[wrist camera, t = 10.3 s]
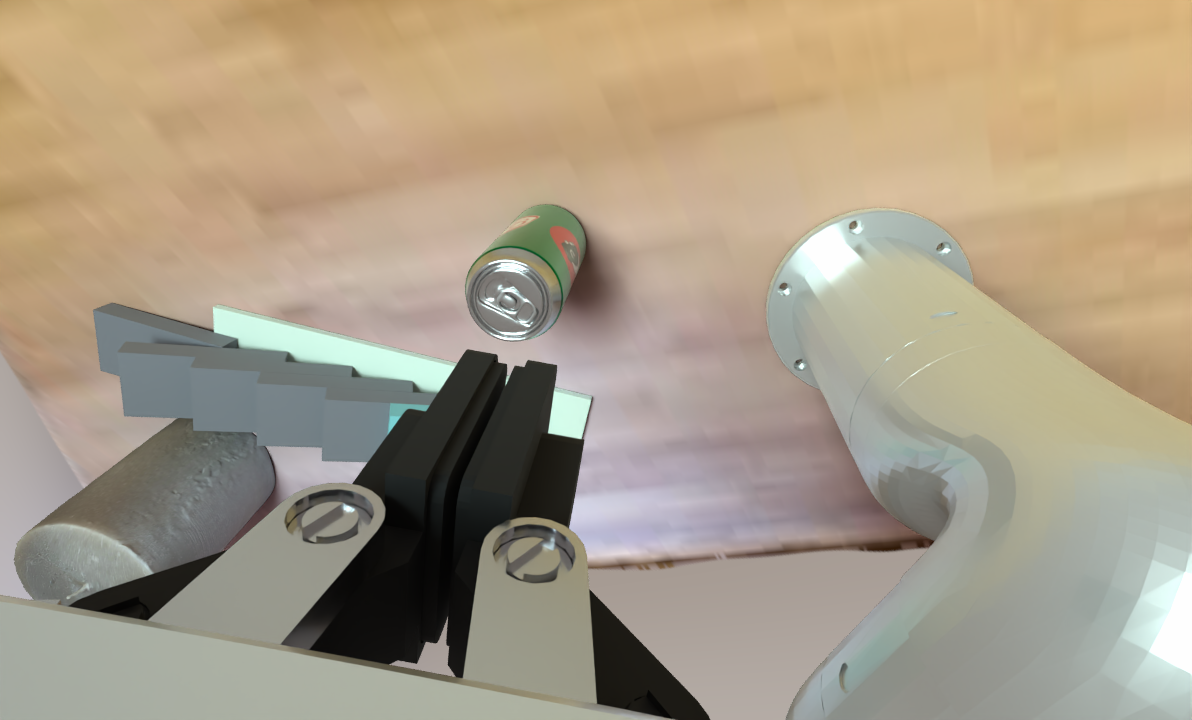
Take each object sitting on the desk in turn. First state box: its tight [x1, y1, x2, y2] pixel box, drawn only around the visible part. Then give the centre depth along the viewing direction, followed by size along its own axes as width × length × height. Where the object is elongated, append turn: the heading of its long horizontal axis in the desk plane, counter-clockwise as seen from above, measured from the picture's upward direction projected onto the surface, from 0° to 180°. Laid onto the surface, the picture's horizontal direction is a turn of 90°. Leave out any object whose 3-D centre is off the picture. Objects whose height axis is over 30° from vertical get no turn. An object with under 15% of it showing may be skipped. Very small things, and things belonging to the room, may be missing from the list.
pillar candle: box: [14, 418, 275, 606], centre depth 46 cm, size 10×10×15 cm
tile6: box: [93, 303, 237, 376], centre depth 48 cm, size 2×5×10 cm
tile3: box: [256, 372, 413, 447], centre depth 46 cm, size 2×5×10 cm
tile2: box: [322, 387, 437, 462], centre depth 46 cm, size 2×5×10 cm
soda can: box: [465, 204, 586, 342], centre depth 37 cm, size 5×5×12 cm
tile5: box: [117, 341, 287, 418], centre depth 46 cm, size 2×5×10 cm
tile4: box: [190, 356, 353, 433], centre depth 46 cm, size 2×5×10 cm
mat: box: [213, 304, 592, 439], centre depth 49 cm, size 28×9×1 cm, turn 77°
